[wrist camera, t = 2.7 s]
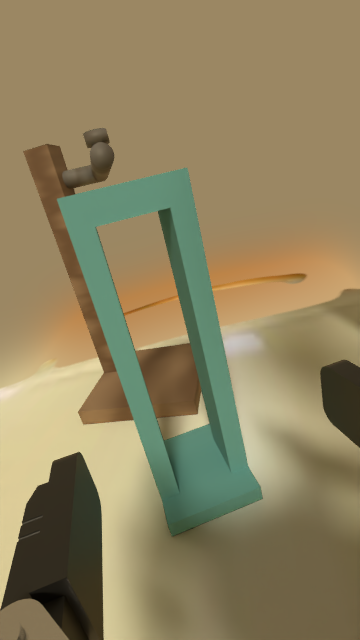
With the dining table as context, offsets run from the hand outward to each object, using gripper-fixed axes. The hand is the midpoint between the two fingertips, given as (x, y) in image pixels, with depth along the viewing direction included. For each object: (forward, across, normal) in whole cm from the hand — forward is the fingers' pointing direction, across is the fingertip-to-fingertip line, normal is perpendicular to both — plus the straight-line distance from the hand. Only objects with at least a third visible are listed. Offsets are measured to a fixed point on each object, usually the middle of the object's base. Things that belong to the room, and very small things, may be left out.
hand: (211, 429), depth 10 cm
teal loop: (+10, 0, +11) cm, 15 cm away
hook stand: (+24, +1, +11) cm, 26 cm away
